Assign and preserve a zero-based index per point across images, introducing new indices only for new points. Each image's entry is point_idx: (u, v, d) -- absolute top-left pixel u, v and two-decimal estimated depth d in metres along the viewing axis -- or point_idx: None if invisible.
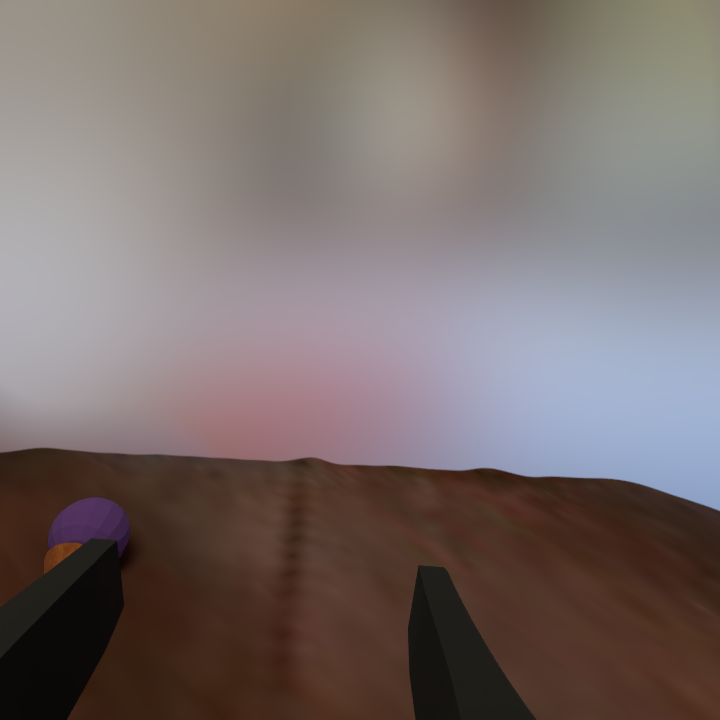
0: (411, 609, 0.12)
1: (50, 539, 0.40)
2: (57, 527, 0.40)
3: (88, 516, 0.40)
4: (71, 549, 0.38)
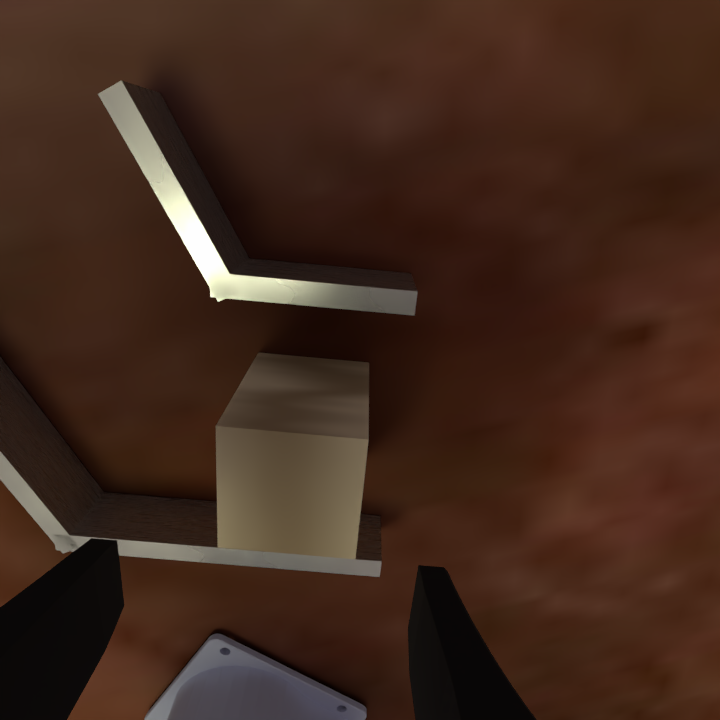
0: (411, 609, 0.12)
1: None
2: None
3: None
4: None
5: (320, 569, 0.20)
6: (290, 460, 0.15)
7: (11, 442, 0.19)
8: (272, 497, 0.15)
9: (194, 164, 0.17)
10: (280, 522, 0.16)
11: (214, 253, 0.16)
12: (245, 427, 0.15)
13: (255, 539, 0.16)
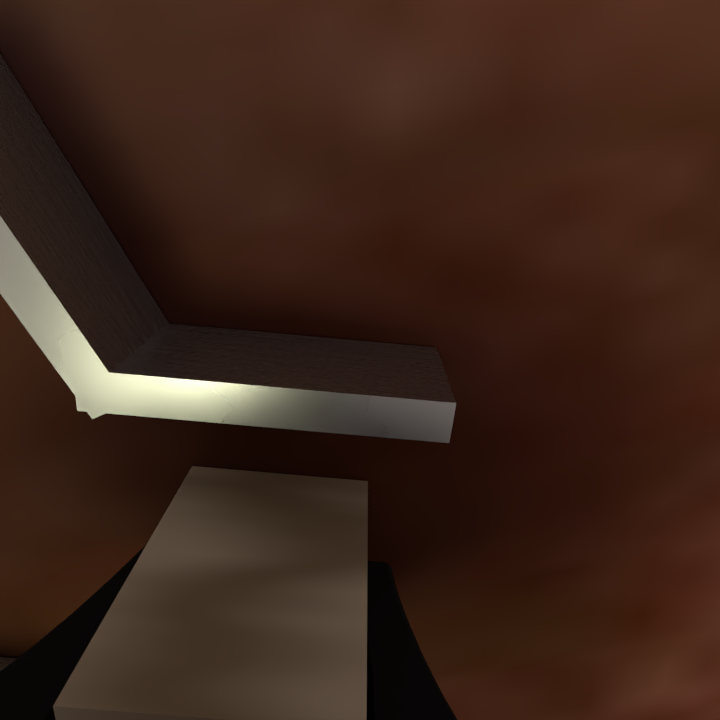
0: None
1: None
2: None
3: None
4: None
5: None
6: None
7: None
8: None
9: (57, 169, 0.10)
10: None
11: (77, 336, 0.09)
12: (115, 704, 0.07)
13: None
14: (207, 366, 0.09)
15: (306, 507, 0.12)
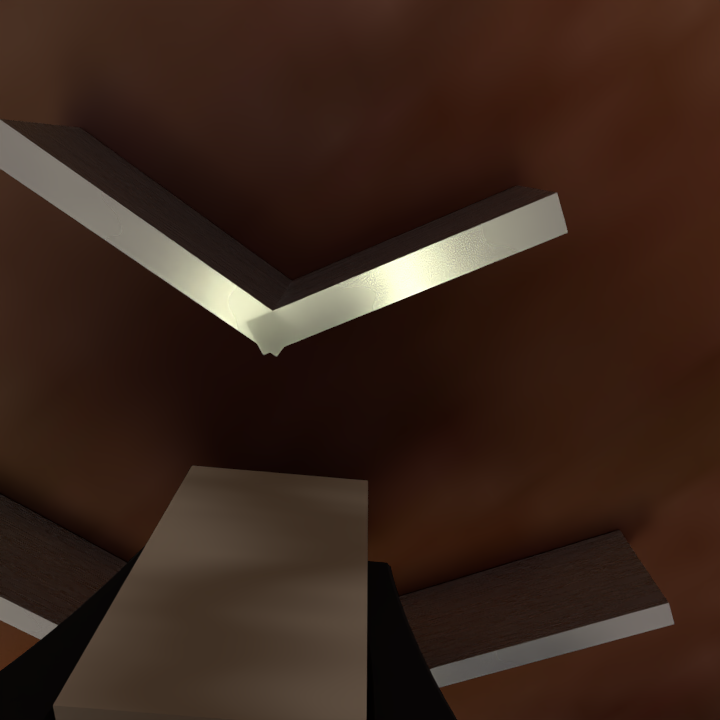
0: None
1: None
2: None
3: None
4: None
5: (583, 645, 0.14)
6: None
7: None
8: None
9: (163, 195, 0.12)
10: None
11: (238, 292, 0.10)
12: (115, 704, 0.07)
13: None
14: (340, 276, 0.11)
15: (306, 506, 0.12)
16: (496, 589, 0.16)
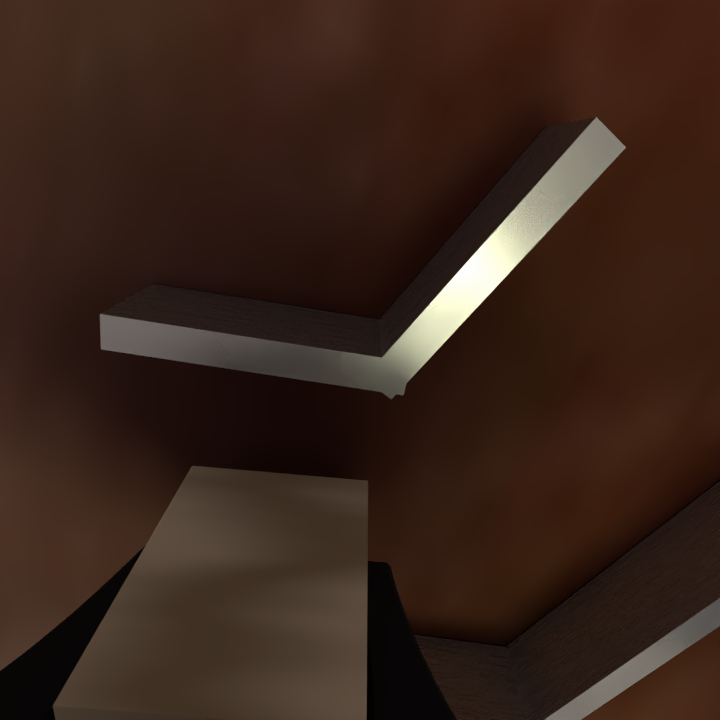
0: None
1: None
2: None
3: None
4: None
5: None
6: None
7: None
8: None
9: (241, 303, 0.13)
10: None
11: (345, 356, 0.11)
12: (115, 704, 0.07)
13: None
14: (425, 297, 0.11)
15: (306, 507, 0.12)
16: (717, 514, 0.15)
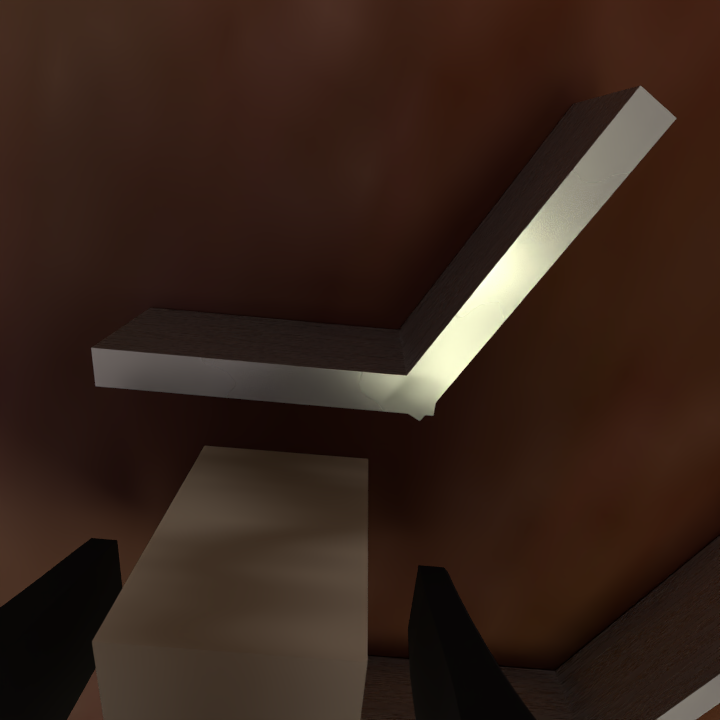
0: (411, 609, 0.12)
1: None
2: None
3: None
4: None
5: None
6: (230, 692, 0.08)
7: None
8: None
9: (247, 323, 0.12)
10: None
11: (366, 377, 0.10)
12: (146, 641, 0.08)
13: None
14: (451, 304, 0.10)
15: (311, 480, 0.13)
16: None
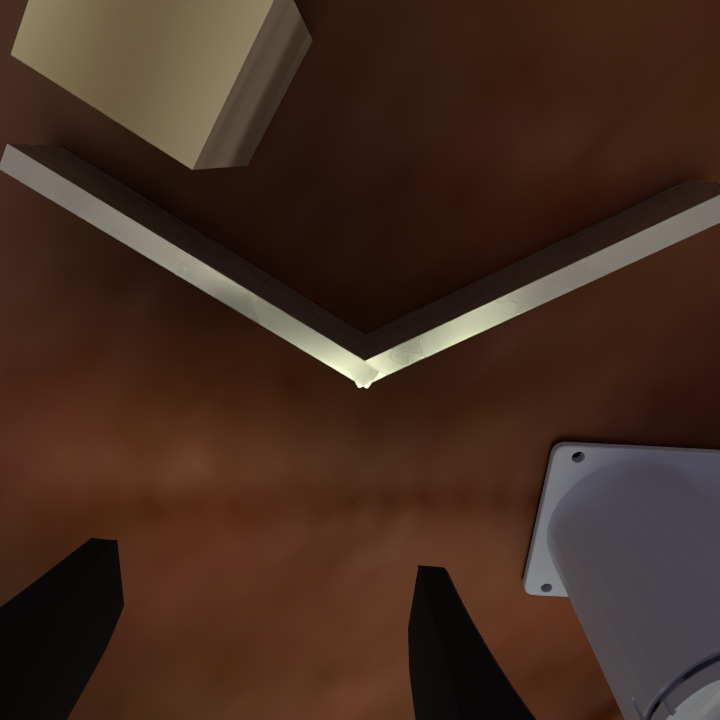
0: (411, 609, 0.12)
1: None
2: None
3: None
4: None
5: (666, 242, 0.16)
6: None
7: (258, 289, 0.17)
8: (119, 7, 0.11)
9: None
10: (113, 56, 0.11)
11: None
12: None
13: (70, 68, 0.11)
14: None
15: None
16: (578, 239, 0.17)
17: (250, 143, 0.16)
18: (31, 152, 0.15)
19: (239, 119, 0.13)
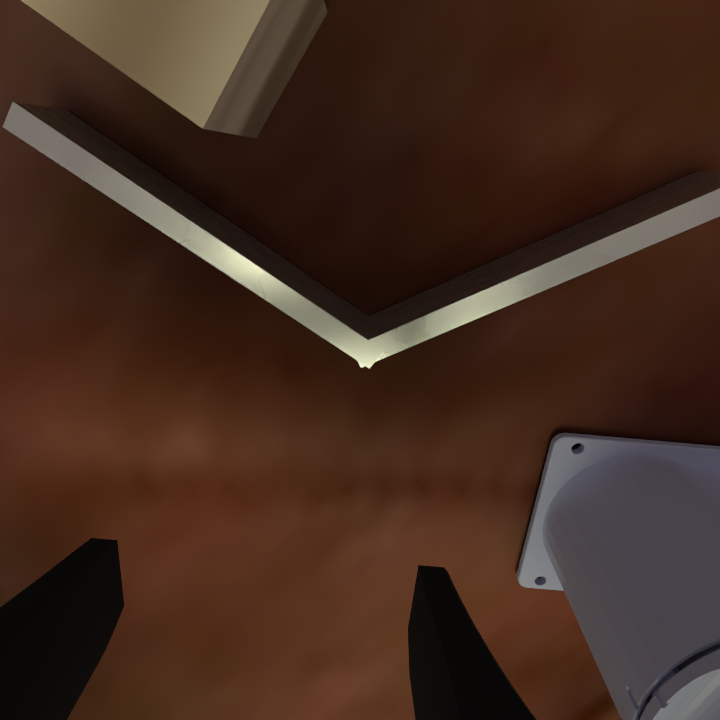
0: (411, 609, 0.12)
1: None
2: None
3: None
4: None
5: (676, 229, 0.15)
6: None
7: (263, 263, 0.17)
8: None
9: None
10: (127, 6, 0.11)
11: None
12: None
13: (81, 17, 0.11)
14: None
15: None
16: (587, 226, 0.17)
17: (260, 113, 0.16)
18: (37, 112, 0.15)
19: (251, 83, 0.13)
